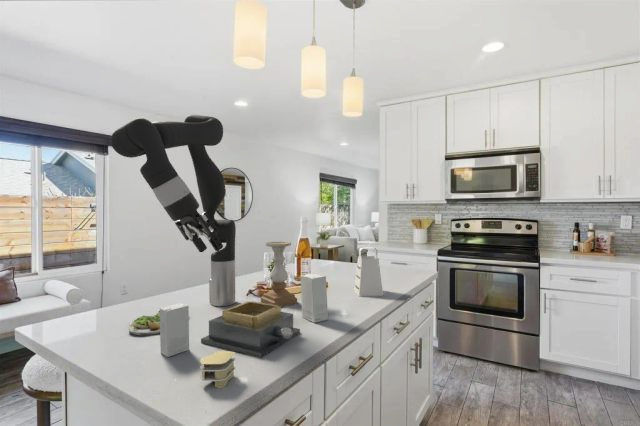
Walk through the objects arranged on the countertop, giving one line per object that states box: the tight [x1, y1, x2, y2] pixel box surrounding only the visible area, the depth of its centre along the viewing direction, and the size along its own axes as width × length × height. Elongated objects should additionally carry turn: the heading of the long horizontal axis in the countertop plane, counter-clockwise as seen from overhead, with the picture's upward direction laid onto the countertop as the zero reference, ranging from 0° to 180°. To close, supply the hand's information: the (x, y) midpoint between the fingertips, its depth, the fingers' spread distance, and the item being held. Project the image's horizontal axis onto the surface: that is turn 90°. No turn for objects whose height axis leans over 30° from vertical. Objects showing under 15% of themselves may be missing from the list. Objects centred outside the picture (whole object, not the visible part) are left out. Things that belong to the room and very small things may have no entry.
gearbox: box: [200, 300, 301, 359], centre depth 97 cm, size 24×19×8 cm
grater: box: [353, 246, 384, 297], centre depth 149 cm, size 10×10×20 cm
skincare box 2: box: [299, 273, 329, 324], centre depth 115 cm, size 8×6×15 cm
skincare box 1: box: [159, 302, 190, 358], centre depth 88 cm, size 6×4×12 cm
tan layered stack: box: [199, 350, 237, 389], centre depth 74 cm, size 10×9×6 cm
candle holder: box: [260, 241, 298, 307], centre depth 135 cm, size 11×11×24 cm
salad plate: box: [128, 310, 160, 337], centre depth 108 cm, size 19×18×5 cm
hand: (211, 249), depth 89 cm, fingers open, 8 cm apart
